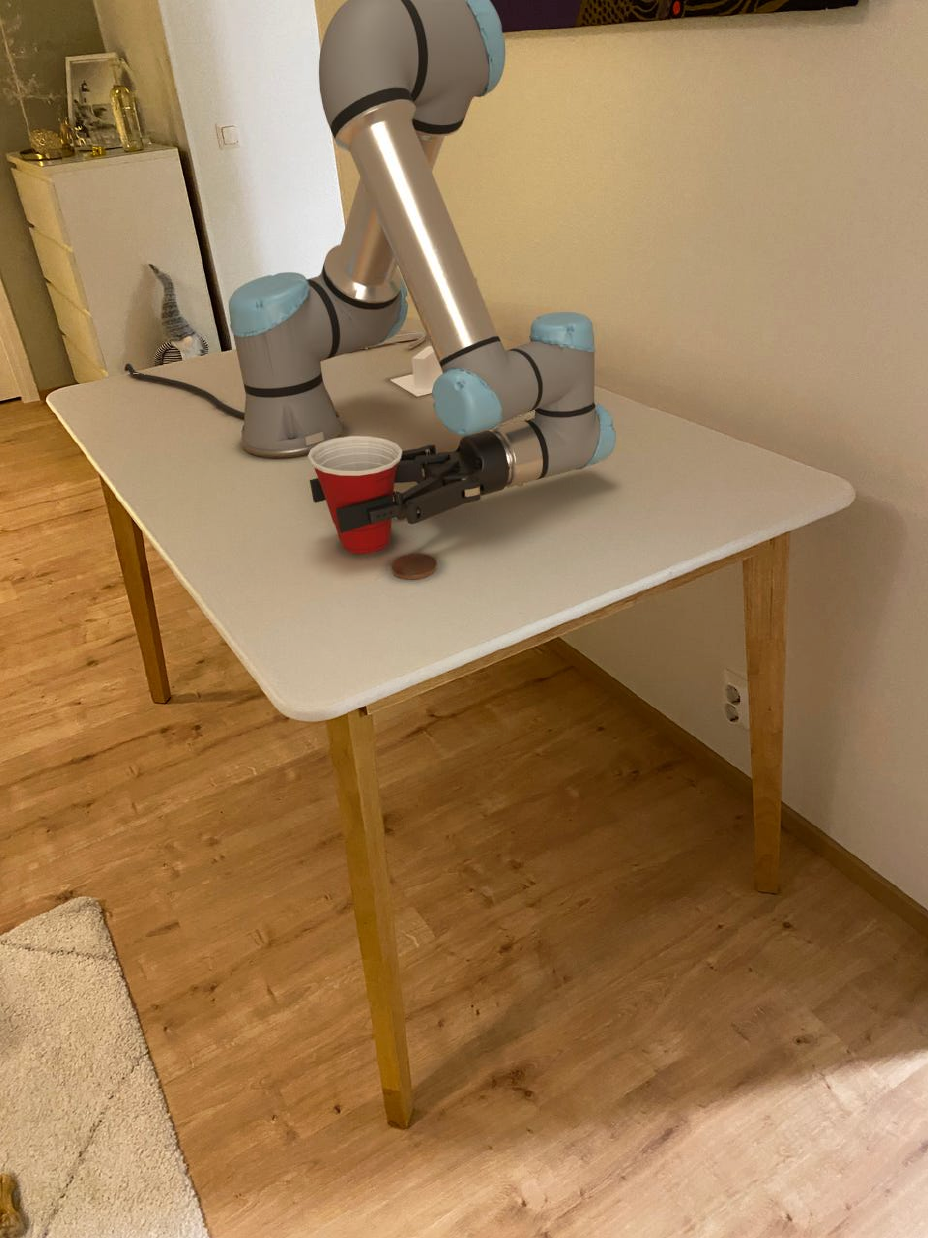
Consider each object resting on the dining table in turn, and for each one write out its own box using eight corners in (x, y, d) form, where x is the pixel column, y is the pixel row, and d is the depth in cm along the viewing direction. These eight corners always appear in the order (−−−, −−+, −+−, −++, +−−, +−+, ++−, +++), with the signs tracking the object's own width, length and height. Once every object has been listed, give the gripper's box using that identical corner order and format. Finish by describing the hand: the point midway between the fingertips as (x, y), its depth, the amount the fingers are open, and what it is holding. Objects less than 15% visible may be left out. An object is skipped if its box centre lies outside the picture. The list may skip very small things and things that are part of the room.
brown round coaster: (382, 573, 112) (382, 569, 112) (410, 553, 115) (409, 549, 115) (419, 583, 109) (418, 579, 109) (446, 563, 113) (445, 559, 112)
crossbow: (413, 333, 196) (413, 323, 195) (436, 349, 186) (435, 338, 185) (336, 343, 191) (335, 332, 190) (355, 359, 181) (354, 348, 180)
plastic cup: (398, 566, 112) (386, 469, 106) (310, 562, 115) (293, 467, 109) (422, 524, 121) (412, 433, 115) (340, 522, 124) (326, 432, 118)
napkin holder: (417, 396, 162) (414, 362, 159) (388, 379, 170) (384, 347, 167) (495, 376, 167) (493, 343, 164) (463, 360, 176) (461, 329, 173)
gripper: (541, 518, 114) (361, 572, 107) (462, 459, 131) (302, 501, 124) (539, 459, 111) (352, 510, 103) (458, 405, 127) (292, 446, 120)
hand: (325, 505), depth 113 cm, fingers closed on plastic cup, 9 cm apart
